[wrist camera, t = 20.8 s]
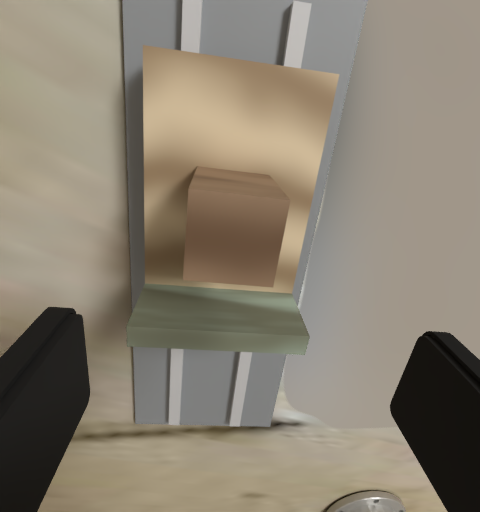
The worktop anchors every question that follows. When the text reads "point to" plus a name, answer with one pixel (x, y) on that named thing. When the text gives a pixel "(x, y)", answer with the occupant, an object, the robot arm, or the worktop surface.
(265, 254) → the walnut block
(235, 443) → the worktop surface
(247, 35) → the rail track
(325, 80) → the multicoloured piece
